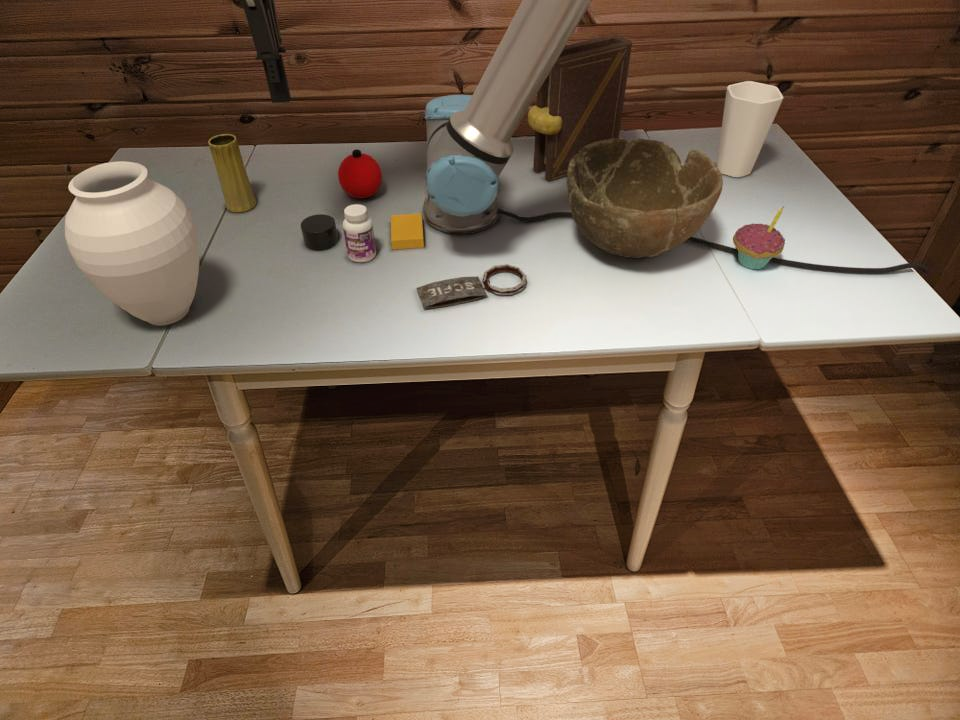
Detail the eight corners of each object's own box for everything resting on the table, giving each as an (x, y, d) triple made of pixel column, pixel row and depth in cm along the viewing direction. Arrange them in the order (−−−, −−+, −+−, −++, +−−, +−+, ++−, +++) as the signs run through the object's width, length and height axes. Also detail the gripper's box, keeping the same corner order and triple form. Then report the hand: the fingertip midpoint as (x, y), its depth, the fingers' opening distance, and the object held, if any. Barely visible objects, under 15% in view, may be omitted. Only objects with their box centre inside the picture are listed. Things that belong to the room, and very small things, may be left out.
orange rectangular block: (422, 222, 130) (421, 213, 129) (424, 247, 124) (423, 238, 122) (392, 224, 130) (390, 215, 128) (392, 249, 123) (391, 240, 122)
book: (598, 146, 152) (612, 32, 135) (622, 161, 147) (639, 44, 130) (519, 171, 145) (523, 52, 127) (541, 187, 139) (547, 66, 122)
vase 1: (98, 353, 103) (19, 214, 86) (124, 285, 116) (60, 153, 99) (214, 340, 105) (160, 202, 88) (227, 275, 118) (182, 143, 101)
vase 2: (260, 198, 137) (243, 133, 128) (250, 213, 133) (231, 147, 123) (232, 197, 138) (213, 132, 128) (221, 212, 134) (200, 146, 124)
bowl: (601, 191, 138) (610, 122, 127) (725, 231, 126) (746, 158, 116) (531, 253, 122) (535, 180, 111) (666, 305, 110) (685, 229, 100)
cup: (700, 172, 143) (719, 94, 131) (717, 154, 149) (736, 77, 137) (751, 186, 139) (775, 106, 127) (766, 167, 145) (790, 89, 133)
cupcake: (776, 253, 121) (798, 195, 112) (775, 280, 115) (798, 220, 107) (728, 245, 123) (745, 187, 114) (725, 271, 117) (743, 212, 109)
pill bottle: (349, 265, 120) (340, 219, 113) (346, 249, 123) (338, 204, 117) (378, 261, 120) (372, 215, 114) (375, 245, 124) (368, 200, 118)
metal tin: (339, 231, 128) (335, 213, 125) (337, 249, 123) (333, 231, 121) (306, 233, 128) (302, 215, 125) (303, 251, 123) (298, 233, 120)
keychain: (414, 286, 115) (414, 277, 113) (518, 267, 119) (518, 258, 117) (424, 313, 109) (424, 304, 108) (532, 292, 113) (533, 283, 112)
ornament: (339, 188, 140) (331, 143, 133) (380, 182, 142) (374, 137, 135) (344, 209, 134) (336, 164, 127) (388, 202, 136) (382, 157, 129)
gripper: (220, -90, 89) (262, 85, 106) (201, -69, 80) (250, 119, 96) (276, -92, 90) (309, 83, 106) (263, -71, 80) (302, 116, 97)
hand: (281, 100), depth 101 cm, fingers closed
